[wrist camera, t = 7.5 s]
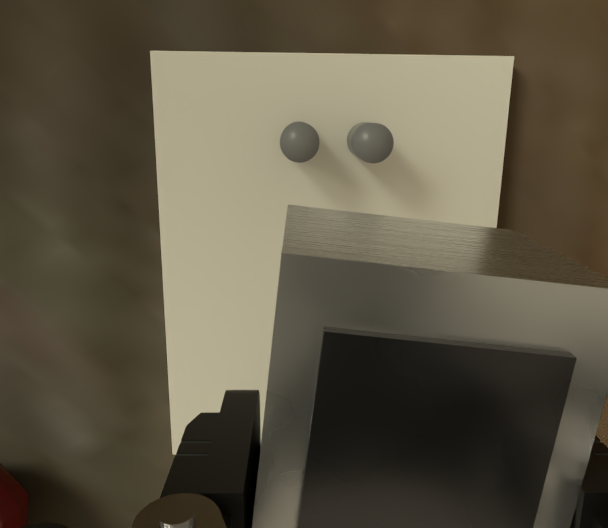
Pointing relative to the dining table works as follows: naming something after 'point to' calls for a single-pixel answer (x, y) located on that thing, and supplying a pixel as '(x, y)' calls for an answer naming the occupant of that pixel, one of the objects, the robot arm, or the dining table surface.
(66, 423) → the dining table surface
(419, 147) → the pin tray
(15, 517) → the heart
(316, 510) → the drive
